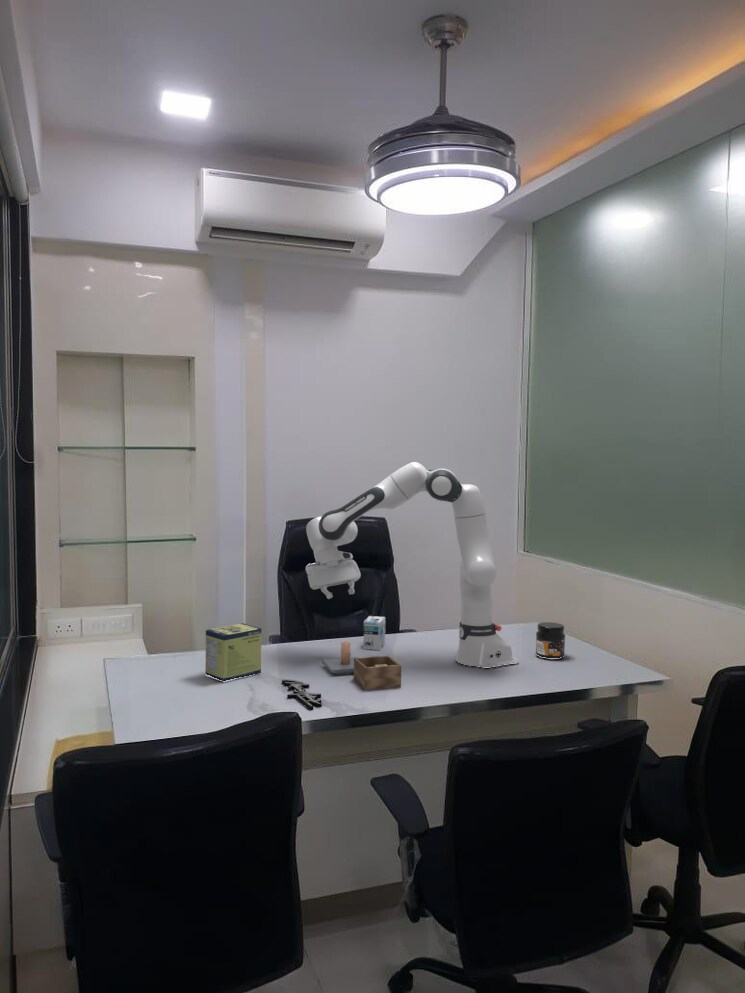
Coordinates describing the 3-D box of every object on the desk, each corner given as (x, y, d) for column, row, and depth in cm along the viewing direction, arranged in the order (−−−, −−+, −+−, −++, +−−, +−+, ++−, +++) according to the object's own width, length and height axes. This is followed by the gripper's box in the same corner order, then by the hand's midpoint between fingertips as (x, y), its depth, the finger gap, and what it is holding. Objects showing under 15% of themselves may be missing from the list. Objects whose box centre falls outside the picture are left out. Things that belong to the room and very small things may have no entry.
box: (388, 676, 251) (388, 655, 251) (400, 687, 240) (401, 665, 240) (353, 679, 248) (354, 658, 247) (364, 690, 236) (365, 668, 236)
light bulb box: (380, 650, 284) (380, 622, 283) (362, 649, 285) (363, 621, 285) (385, 643, 294) (385, 616, 294) (368, 642, 296) (369, 615, 295)
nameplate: (270, 681, 240) (300, 677, 245) (270, 686, 240) (300, 682, 245) (302, 707, 216) (334, 703, 220) (302, 713, 216) (334, 708, 221)
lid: (357, 663, 267) (358, 637, 266) (369, 674, 254) (370, 646, 254) (322, 666, 262) (322, 639, 262) (332, 677, 250) (332, 649, 249)
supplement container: (535, 659, 275) (535, 627, 274) (535, 652, 285) (536, 620, 285) (564, 661, 273) (565, 629, 272) (564, 654, 283) (565, 622, 282)
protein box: (261, 673, 252) (262, 627, 251) (223, 683, 241) (223, 635, 240) (242, 667, 259) (243, 622, 258) (204, 676, 248) (204, 629, 247)
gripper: (307, 560, 263) (320, 597, 259) (355, 552, 275) (368, 587, 271) (300, 568, 268) (312, 604, 263) (347, 559, 280) (360, 594, 275)
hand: (341, 595), depth 267 cm, fingers open, 8 cm apart
